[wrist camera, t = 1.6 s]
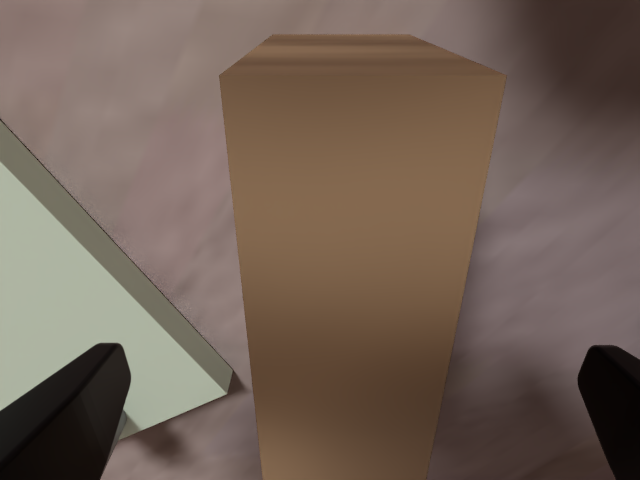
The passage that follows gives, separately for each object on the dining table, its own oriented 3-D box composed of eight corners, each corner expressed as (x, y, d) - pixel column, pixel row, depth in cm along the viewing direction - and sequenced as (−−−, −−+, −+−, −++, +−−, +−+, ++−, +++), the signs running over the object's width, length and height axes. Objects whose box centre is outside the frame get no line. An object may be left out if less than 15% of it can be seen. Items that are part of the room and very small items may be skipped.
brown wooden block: (381, 335, 17) (415, 531, 11) (283, 335, 17) (262, 530, 11) (408, 34, 12) (506, 75, 5) (267, 34, 12) (207, 75, 5)
